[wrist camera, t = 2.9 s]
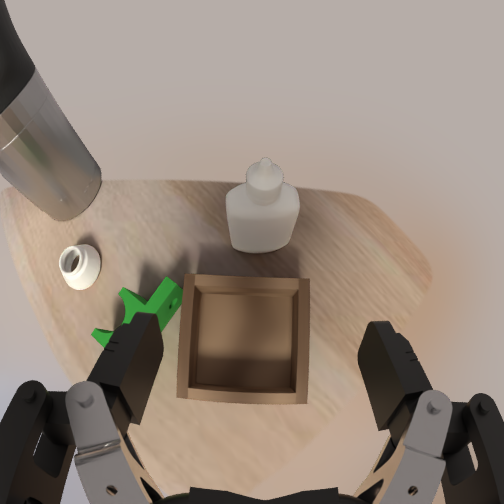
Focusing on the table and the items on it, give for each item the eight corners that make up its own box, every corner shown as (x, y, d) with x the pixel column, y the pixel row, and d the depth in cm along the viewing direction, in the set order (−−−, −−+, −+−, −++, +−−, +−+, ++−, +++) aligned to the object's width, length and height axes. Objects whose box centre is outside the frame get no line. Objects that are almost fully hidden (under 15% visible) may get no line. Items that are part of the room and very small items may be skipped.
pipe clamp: (159, 273, 27) (144, 258, 22) (188, 294, 26) (177, 283, 22) (99, 359, 23) (74, 359, 19) (125, 384, 23) (103, 389, 18)
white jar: (81, 300, 25) (110, 266, 27) (66, 294, 23) (97, 257, 24) (60, 270, 26) (87, 238, 28) (46, 262, 24) (74, 227, 25)
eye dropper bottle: (242, 209, 29) (238, 126, 17) (294, 229, 28) (320, 153, 16) (224, 246, 27) (207, 174, 16) (278, 268, 26) (298, 207, 15)
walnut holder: (187, 390, 23) (176, 397, 19) (194, 284, 26) (184, 273, 22) (298, 395, 22) (307, 403, 19) (301, 289, 26) (309, 278, 22)
